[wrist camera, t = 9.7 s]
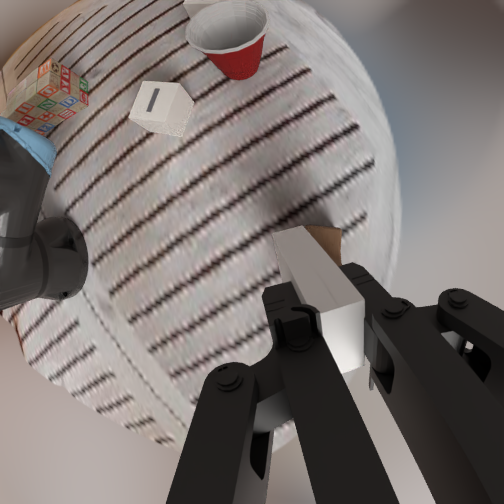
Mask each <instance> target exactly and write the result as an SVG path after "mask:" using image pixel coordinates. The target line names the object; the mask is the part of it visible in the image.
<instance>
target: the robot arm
mask: <svg viewBox="0 0 504 504" xmlns="http://www.w3.org/2000/svg"><path fill="white" fill-rule="evenodd" d="M56 153H57V151H56V146H55V145H54V143H53V142H52V141H51V140H49V139H47V138H46V137H44V136H42V135H41V134H39V133H37V132H35V131H33V130H31V129H29V128H27V127H25V126H22V125H20V124H18V123H16V122H14V121H12V120H10V119H7V118H5V117H2V116H0V311H1V310H4V309H7V308H10V307H12V306H15V305H18V304H21V303H24V302H27V301H30V300H32V299H35V298H44V299H51V300H64V299H67V298H70V297H73V296H75V295H76V294H77V293H78V292H79V291H80V290H81V289H82V287H83V285H84V283H85V280H86V277H87V272H88V253H87V248H86V244H85V241H84V238H83V236H82V234H81V232H80V230H79V229H78V228H77V226H76V225H75V224H74V223H73V222H72V221H70V220H68V219H66V218H63V217H50V218H47V219H44V220H42V221H40V222H38V223H37V220H38V216H39V212H40V208H41V204H42V201H43V197H44V194H45V190H46V187H47V184H48V181H49V178H51V174H52V172H51V171H52V167H53V164H54V161H55V158H56ZM272 237H273V242H274V246H275V251H276V255H277V260H278V264H279V269H280V273H281V278H282V283H281V284H278V285H274V286H270V287H266V288H265V290H264V292H263V294H262V300H263V304H264V307H265V311H266V315H267V319H268V323H269V328H270V332H271V335H272V339H273V346H272V349H271V351H270V352H269V354H268V355H267V356H266V357H265V358H264V359H262V360H261V361H259V362H257V363H255V364H254V365H252V366H248V365H246V364H244V363H238V362H231V363H225V364H222V365H220V366H218V367H216V368H215V369H214V370H212V371H211V372H210V373H209V374H208V376H207V378H206V379H205V381H204V384H203V387H202V391H201V394H200V397H199V400H198V403H197V406H196V409H195V412H194V416H193V419H192V422H191V425H190V428H189V431H188V434H187V438H186V441H185V444H184V447H183V450H182V453H181V456H180V460H179V463H178V466H177V469H176V472H175V475H174V479H173V482H172V485H171V488H170V491H169V495H168V498H167V501H166V504H265V502H266V495H267V487H268V479H269V470H270V463H271V454H272V445H273V435H274V428H276V427H278V426H280V425H282V424H283V423H285V422H287V421H289V420H290V419H292V418H294V422H295V426H296V430H297V433H298V437H299V441H300V445H301V448H302V452H303V456H304V460H305V463H306V467H307V471H308V475H309V478H310V482H311V486H312V490H313V493H314V497H315V501H316V504H399V501H398V499H397V497H396V494H395V492H394V490H393V487H392V485H391V483H390V480H389V478H388V475H387V473H386V471H385V469H384V466H383V464H382V462H381V459H380V457H379V455H378V453H377V450H376V448H375V446H374V444H373V441H372V439H371V437H370V435H369V432H368V430H367V428H366V426H365V424H364V421H363V419H362V417H361V415H360V413H359V410H358V408H357V406H356V404H355V402H354V400H353V398H352V395H351V393H350V391H349V389H348V387H347V385H346V383H345V381H344V378H343V376H342V373H345V372H348V371H350V370H353V369H356V368H359V367H361V366H364V362H365V355H366V357H367V359H368V360H369V362H370V377H369V388H370V390H373V386H374V383H375V384H376V386H377V388H378V390H379V392H380V394H381V395H382V397H383V399H384V401H385V403H386V405H387V406H388V408H389V410H390V412H391V414H392V416H393V418H394V420H395V421H396V424H397V425H398V427H399V429H400V431H401V433H402V435H403V437H404V439H405V441H406V443H407V445H408V447H409V449H410V451H411V453H412V454H413V457H414V459H415V461H416V463H417V465H418V467H419V469H420V471H421V473H422V475H423V477H424V479H425V481H426V483H427V485H428V487H429V489H430V492H431V494H432V496H433V498H434V500H435V503H436V504H504V311H503V310H501V309H499V308H498V307H496V306H494V305H492V304H490V303H489V302H487V301H485V300H483V299H482V298H480V297H478V296H476V295H474V294H473V293H471V292H469V291H466V290H463V289H458V288H453V289H448V290H446V291H444V292H442V293H441V294H440V296H439V299H438V305H432V306H425V307H415V306H414V305H413V304H412V303H411V302H409V301H408V300H406V299H403V298H396V297H391V295H390V294H389V293H388V292H387V291H386V290H385V289H384V288H383V287H382V286H381V285H380V284H379V283H378V282H377V281H376V280H375V279H374V277H373V276H372V275H371V274H369V272H368V271H367V270H366V269H365V268H364V267H363V266H360V265H358V264H355V263H353V262H352V263H348V264H345V265H342V266H337V265H336V264H335V263H334V261H333V260H332V259H331V258H330V257H329V255H328V254H327V253H326V252H325V251H324V250H323V248H322V247H321V246H320V245H319V244H318V243H317V241H316V240H315V239H314V238H313V237H312V236H311V235H310V233H309V232H308V231H307V230H306V229H305V228H304V227H303V225H302V226H298V227H294V228H290V229H286V230H283V231H279V232H275V233H272ZM467 341H469V342H470V343H472V344H473V348H472V349H467V348H465V346H466V343H467Z"/></svg>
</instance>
